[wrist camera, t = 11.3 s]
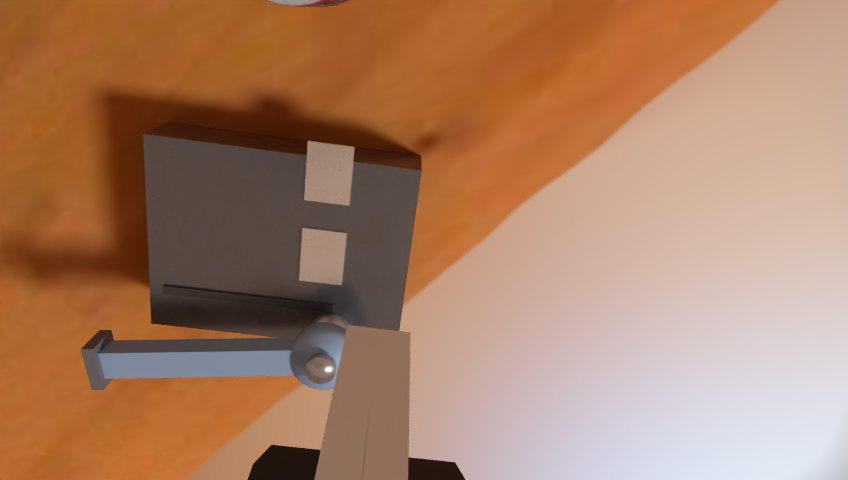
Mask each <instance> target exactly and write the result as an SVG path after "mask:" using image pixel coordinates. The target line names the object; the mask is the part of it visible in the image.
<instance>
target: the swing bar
mask: <svg viewBox="0 0 848 480" xmlns="http://www.w3.org/2000/svg"><path fill="white" fill-rule="evenodd" d="M345 335H346V329H345V328H343V327H341V326H339V325H337V324H334V323H329V322H319V323H314V324H311V325H309V326H307V327H305V328H304V329H303V330H302V331H301V332H300V333H299V334H298V336H297V338H246V339H183V340H120V341H114V339H113V335H112V331H111V330H99V331H98V332H97V333H96V334H95V336H94V337H93V338H92V339H91V340H90V341H89V342H88V343H87V344H86V345H85V346H84V347H83V348H82V349H81V352H82V356H83V359H84V363H85V366H86V370H87V374H88V377H89V381H90V385H91V388H92V390H104V389H105V388H106V386H107V385H108V384H109V383H110V382H111V380H112V379H120V378H182V377H243V376H295V377H296V378H297V379H298V380H299V381H300V382H301V383H303V384H304V385H306V386H308V387H311V388H314V389H320V390H329V389H334V386H335V381H336V377H337V372H338V367H339V363H340V358H341V353H342V349H343V344H344V339H345ZM318 353H323V354H327V355H329V356H331V357H332V358H333V359H334V361H335V362H336V372H335V376H334V378H333V379H332V380H331V381H330V382H328V383H325V384H316V383H313V382H311V381H310V380H309V379H308V378H307V377H306V375H305V366H306V363H307V360H308V359H309V358H310V357H311V356H312V355H314V354H318Z"/></svg>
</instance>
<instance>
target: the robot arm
mask: <svg viewBox="0 0 848 480" xmlns="http://www.w3.org/2000/svg"><path fill="white" fill-rule="evenodd" d="M409 380H410V333H409V332H402V331H393V330H385V329H377V328H368V327H360V326H352V325H347V330H346V335H345V339H344V344H343V349H342V353H341V358H340V363H339V367H338V372H337V377H336V381H335V386H334V391H333V395H332V400H331V405H330V409H329V414H328V419H327V423H326V428H325V433H324V437H323V442H322V447H321V450H315V449H306V448H296V447H287V446H277V445H271V446H270V447H269V448H268V449H267V450H266V451H265V452H264V453H263V454H262V456H261V457H259V458H258V460H257V461H256V462H255V463H254V464H253V466H252V469H251V472H250V475H249V477H248V480H465V478H464V477H463V475H462V473H461V472H460V470H459V468H458V467H457V465H456V463H455V462H445V461H437V460H427V459H418V458H408V448H409V445H408V444H409V385H410V381H409Z"/></svg>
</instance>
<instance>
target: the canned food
mask: <svg viewBox="0 0 848 480" xmlns="http://www.w3.org/2000/svg"><path fill="white" fill-rule="evenodd" d="M266 1H270V2H273V3H276V4H280V5H286V6H299V7H327V6H334V5H338V4H341V3H344V2H346V1H348V0H266Z"/></svg>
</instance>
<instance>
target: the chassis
mask: <svg viewBox="0 0 848 480" xmlns="http://www.w3.org/2000/svg"><path fill="white" fill-rule="evenodd" d="M143 147H144V169H145V191H146V213H147V235H148V257H149V280H150V302H151V323H152V324H161V325H170V326H179V327H188V328H197V329H206V330H215V331H224V332H233V333H242V334H251V335H260V336H269V337H278V338H297V336H298V334H299V333H300V332H301V331H302V330H303V329H304V328H305V327H307V326H309V325H311V324H314V323H319V322H329V323H334V324H337V325H339V326H341V327H343V328H345V329H346V330H347V325H352V326H360V327H368V328H377V329H385V330H393V331H399V328H400V321H401V313H402V307H403V300H404V292H405V285H406V278H407V271H408V264H409V257H410V249H411V242H412V235H413V228H414V221H415V214H416V206H417V199H418V192H419V185H420V178H421V171H422V170H421V156H416V155H409V154H401V153H393V152H386V151H378V150H371V149H363V148H356V147H354V146H346V145H339V144H331V143H324V142H316V141H309V140H308V141H303V140H295V139H288V138H280V137H273V136H265V135H258V134H250V133H243V132H235V131H228V130H220V129H212V128H205V127H197V126H190V125H182V124H175V123H166V124H164V125H162V126H160V127H157V128H155V129H153V130H151V131H149V132H146V133H144V134H143ZM335 372H336V362H335V361H334V359H333V358H332V357H331V356H329V355H327V354H323V353H318V354H314V355H312V356H311V357H310V358H309V359H308V360H307V363H306V366H305V375H306V377H307V378H308V379H309V380H310V381H311V382H313V383H316V384H325V383H328V382H330V381H331V380H332V379H333V378H334V376H335Z"/></svg>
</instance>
